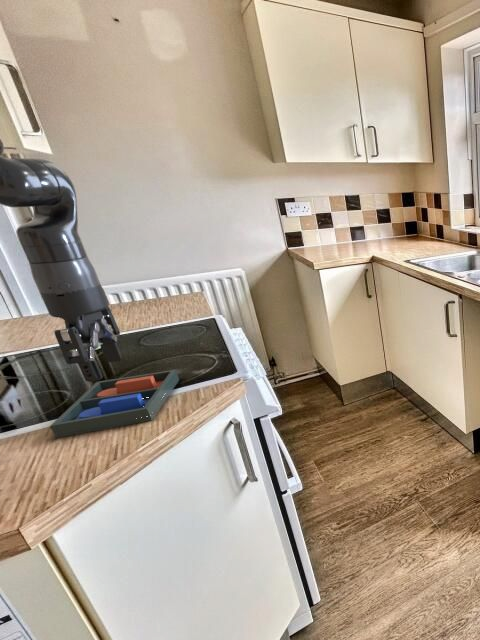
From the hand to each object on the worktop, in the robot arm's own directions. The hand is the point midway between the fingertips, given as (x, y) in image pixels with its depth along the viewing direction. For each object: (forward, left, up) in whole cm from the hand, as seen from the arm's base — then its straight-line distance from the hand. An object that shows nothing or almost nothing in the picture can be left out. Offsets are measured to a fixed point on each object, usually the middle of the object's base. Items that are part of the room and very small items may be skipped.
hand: (105, 370), depth 78 cm
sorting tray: (-1, +4, -10) cm, 11 cm away
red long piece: (-2, +8, -9) cm, 12 cm away
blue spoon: (-1, 0, -9) cm, 9 cm away
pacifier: (-21, +45, -10) cm, 51 cm away
